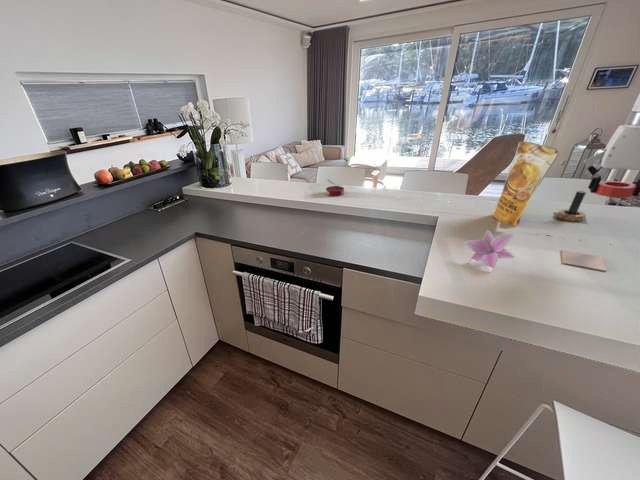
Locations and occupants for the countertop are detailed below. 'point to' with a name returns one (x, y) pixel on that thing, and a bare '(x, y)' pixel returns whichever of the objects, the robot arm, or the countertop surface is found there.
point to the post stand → (574, 207)
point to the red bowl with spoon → (334, 190)
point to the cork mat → (583, 260)
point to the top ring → (616, 189)
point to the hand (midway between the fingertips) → (612, 192)
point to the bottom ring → (568, 217)
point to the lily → (490, 248)
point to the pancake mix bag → (523, 180)
